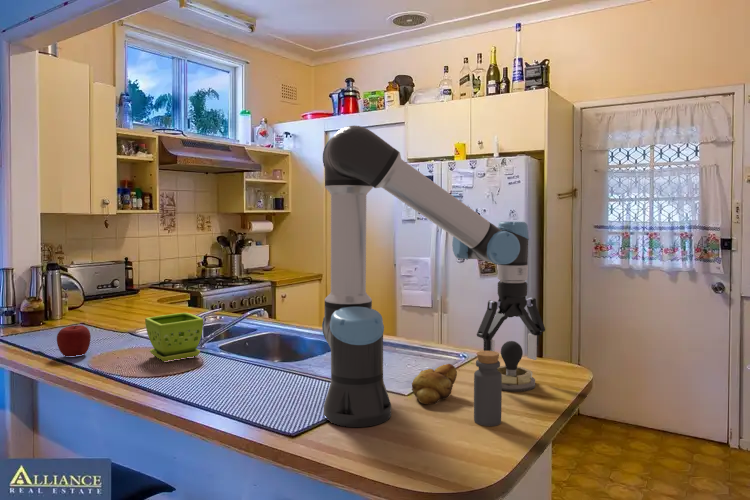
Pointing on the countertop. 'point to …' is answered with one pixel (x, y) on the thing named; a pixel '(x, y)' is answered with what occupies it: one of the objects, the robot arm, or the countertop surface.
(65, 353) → the apple
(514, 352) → the light bulb
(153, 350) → the flower pot
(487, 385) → the bottle
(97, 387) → the countertop surface
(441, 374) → the bread roll
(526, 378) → the octagonal rimmed dish
